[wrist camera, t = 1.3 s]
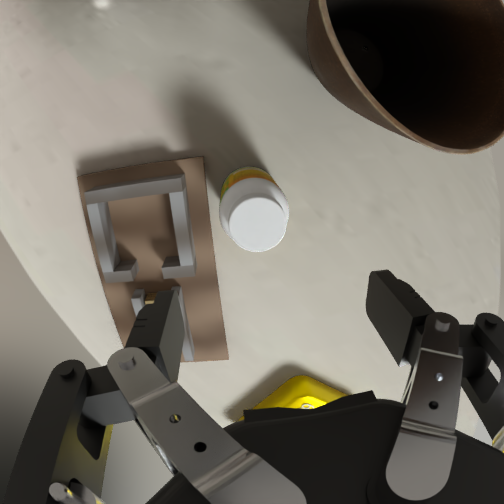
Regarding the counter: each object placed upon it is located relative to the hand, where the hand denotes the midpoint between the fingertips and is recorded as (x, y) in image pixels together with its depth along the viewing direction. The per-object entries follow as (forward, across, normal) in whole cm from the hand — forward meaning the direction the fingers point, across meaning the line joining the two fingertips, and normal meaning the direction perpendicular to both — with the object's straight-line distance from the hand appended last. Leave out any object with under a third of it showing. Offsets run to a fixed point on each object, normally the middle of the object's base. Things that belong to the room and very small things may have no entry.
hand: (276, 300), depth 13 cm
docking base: (+19, +10, +8) cm, 23 cm away
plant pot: (+19, -10, -13) cm, 25 cm away
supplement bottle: (+19, 0, 0) cm, 19 cm away
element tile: (+20, -6, +35) cm, 41 cm away
